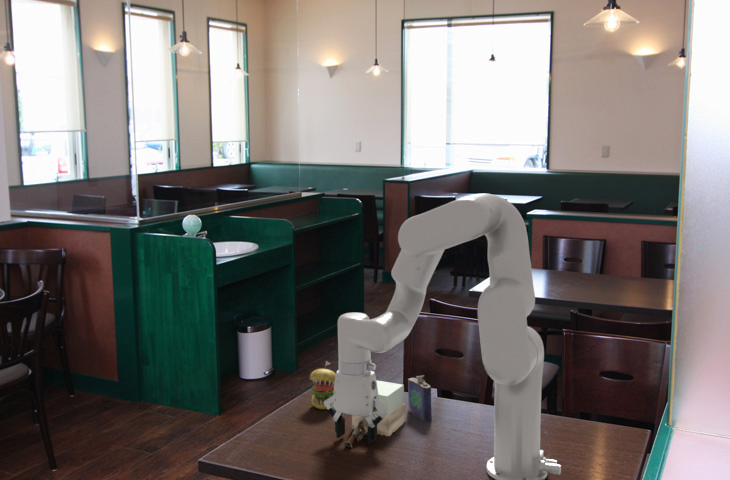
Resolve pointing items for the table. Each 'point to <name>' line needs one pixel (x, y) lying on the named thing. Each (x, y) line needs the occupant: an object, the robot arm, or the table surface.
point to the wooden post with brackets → (355, 433)
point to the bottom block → (384, 422)
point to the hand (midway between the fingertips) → (356, 438)
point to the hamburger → (322, 386)
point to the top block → (390, 395)
